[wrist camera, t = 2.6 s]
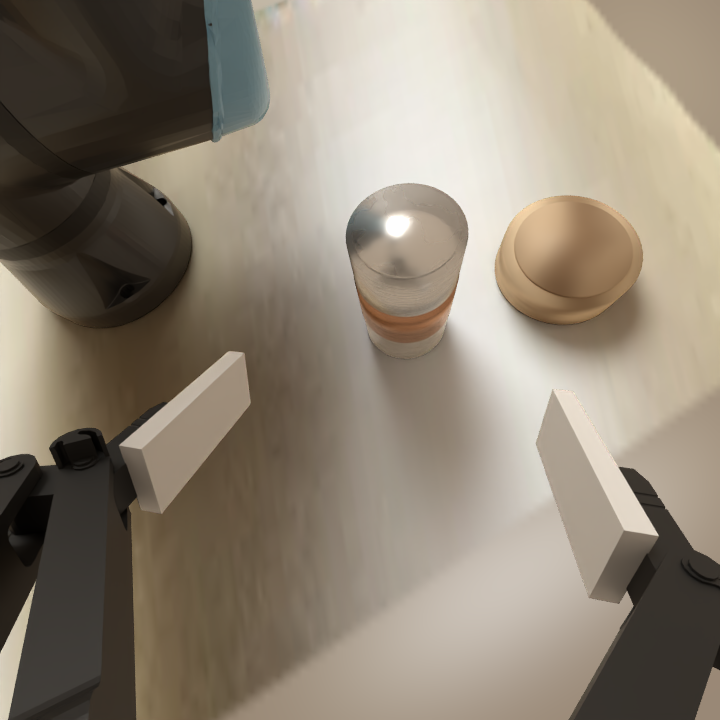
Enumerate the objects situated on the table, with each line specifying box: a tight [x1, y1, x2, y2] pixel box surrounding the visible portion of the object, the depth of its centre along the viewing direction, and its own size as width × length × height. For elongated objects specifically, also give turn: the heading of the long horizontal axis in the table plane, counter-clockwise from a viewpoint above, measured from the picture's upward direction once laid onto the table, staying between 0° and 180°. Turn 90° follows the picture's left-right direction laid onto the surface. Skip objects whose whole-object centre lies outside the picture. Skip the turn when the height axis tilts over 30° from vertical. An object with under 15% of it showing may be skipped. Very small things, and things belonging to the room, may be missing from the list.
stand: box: [495, 196, 643, 325], centre depth 30 cm, size 10×10×3 cm
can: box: [346, 183, 468, 359], centre depth 26 cm, size 7×7×12 cm
